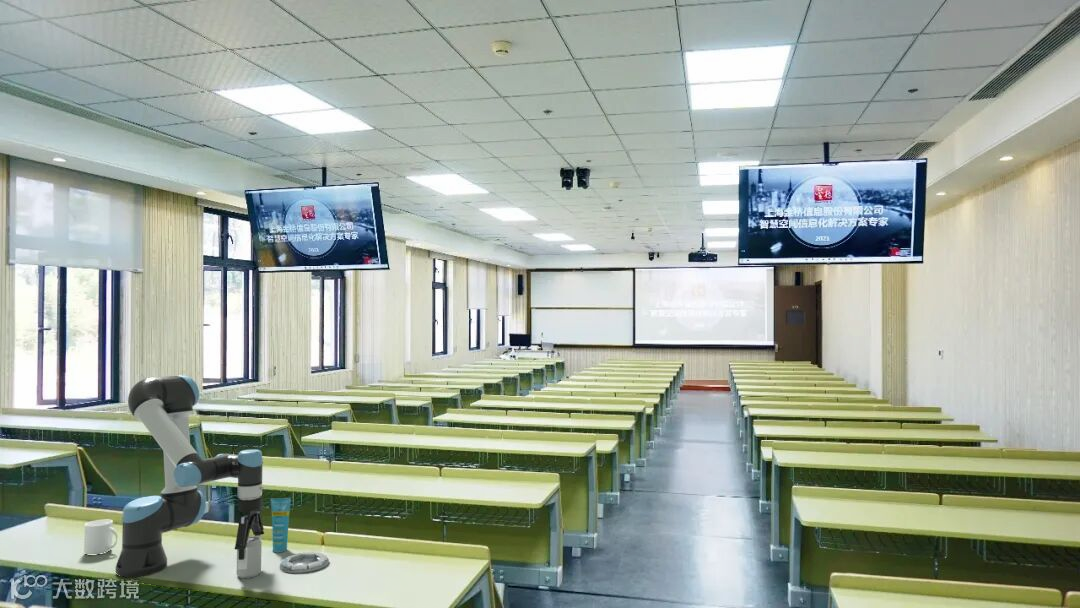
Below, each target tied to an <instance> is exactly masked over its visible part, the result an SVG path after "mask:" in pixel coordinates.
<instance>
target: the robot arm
mask: <svg viewBox="0 0 1080 608" xmlns="http://www.w3.org/2000/svg"><path fill="white" fill-rule="evenodd" d="M199 399H200V390H199V386H198V384H197V382H196V381H195V380H194V379H193V378H191V377H190V376H187V375H170V376H159V377H157V376H156V377H147V378H143V379H141V380H140V381H137V383H135V384H134V385H133V386H132V388H131V389H130V391H129V393H128V396H127V405H128V410H129V412H130V413H131V415H132V416H133V418H134V419H135V420H137V421H139V422H141V423H142V424H143V425H144V427H145V428H146V429H147V431H148V432H149V433H150V435H151V436H152V437H153V438H154V440H155V442H156V443H157V444H158V446H159V447H160V448H161V449H162V451H163V452H162V453H163V467H164V470H163V471H164V485H165V486H164V488H163V489H162V490H161V491H160V495H149V496H141V497H138V498H135V499H133V500H132V501H130V502H128V503H127V504H126V505H124V507H123V510H122V518H121V521H122V531H121V533H122V535H121V536H122V537H121V538H122V540H121V541H122V542H121V543H122V544H121V551H120V554H119V556H118V559H117V562H116V564H115V572H116V573H117V574H118V575H120V576H124V577H123V578H138V577H144V576H149V575H153V574H156V573H159V572H162V571H163V570H164V569H165V568H167V567H168V558H167V554H166V552H165V549H164V546H163V543H162V541H163V539H162V538H163V534H165V533H167V532H170V531H174V530H178V529H180V528H187V527H189V526H192V525H193V524H197V523H198V522H200V521H201V519H202V518H203V516H204V515H205V511H206V508H207V501H206V497H205V496H204V493H203V492H202V491H200V490H198V486H197V485H201V484H205V483H210V482H215V481H219V480H223V479H227V478H233V479H237V498H238V499H237V511H239V512H241V513H242V516H239V517H238V527H237V532H236V539H235V544H234V545H235V546H234V550H236V551H237V549H238V569H247V548H246V545H247V541H248V537H250V533H251V531H252V534H253V535H252V536H256V537H259V538H260V539H259V540H260V541H261V542H262V535H264V534H265V530H264V529H265V528H264V523H263V519H262V513H261V509H262V507H263V497H262V495H263V490H265V489H264V486H263V463H264V461H263V453H262V450H260V449H243V450H241V451H239V452H238V453H237V454H232V453H219V454H217V455H215V456H214V457H208V458H204V459H203V458H202V457H201V455H199V453H198V452H197V450H196V449H195V448H194V447H193V446H192V444H191V437H190V420H189V418H190V417H189V416H190V415H191V414H192V413H193V412H194V409H193V407H194V406H196V405H197V403H198V402H199ZM115 572H114V573H115ZM120 576H119V577H120Z"/></svg>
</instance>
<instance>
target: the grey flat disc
mask: <svg viewBox="0 0 1080 608" xmlns="http://www.w3.org/2000/svg"><path fill="white" fill-rule="evenodd" d="M329 563H330V560H329V558H328V556H327V555H326V554H324V553H322V552H317V551H314V552H313V551H312V552H310V551H309V552H299V553H295V554H292V555H288V556H287V557H285V558H284V559H283V561H281V562H280V564H279V570H280V571H281V572H283V573H287V574H295V575H296V574H306V573H307V574H309V573H313V572H316V571H320V570H322V569H324V568H326V567H327V566H329Z"/></svg>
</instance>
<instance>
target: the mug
mask: <svg viewBox="0 0 1080 608" xmlns="http://www.w3.org/2000/svg"><path fill="white" fill-rule="evenodd" d="M113 523H114V521H113V519H106V518H105V519H95V520H92V521H88V522H86V523H85V524H84V539H83V540H84V542H83V543H84V544H83V545H84V546H83V547H84V548H83V551H84V552H83V553H84V554H85V553H86V554H100V553H104V552H107V551H110V550H111V549H112V550H113V549H114V548H115V547H116V546H117V543H118V533H117V531H116V529H115V528H113V525H114V524H113ZM113 535H114V536H115V542H114V543H113ZM112 550H111V551H112ZM111 551H110V552H111Z"/></svg>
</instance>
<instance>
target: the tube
mask: <svg viewBox="0 0 1080 608" xmlns="http://www.w3.org/2000/svg"><path fill="white" fill-rule="evenodd" d="M291 502H292V498H291V497H284V498H270V506H271V507H270V508H271V525H272V527H271V528H272V552H273V553H283V552H286V551H287V549H288V540H289V539H288V537H289V535H288V534H289V524H290V523H289V522H290V520H289V519H290V511H291V504H292V503H291Z"/></svg>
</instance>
